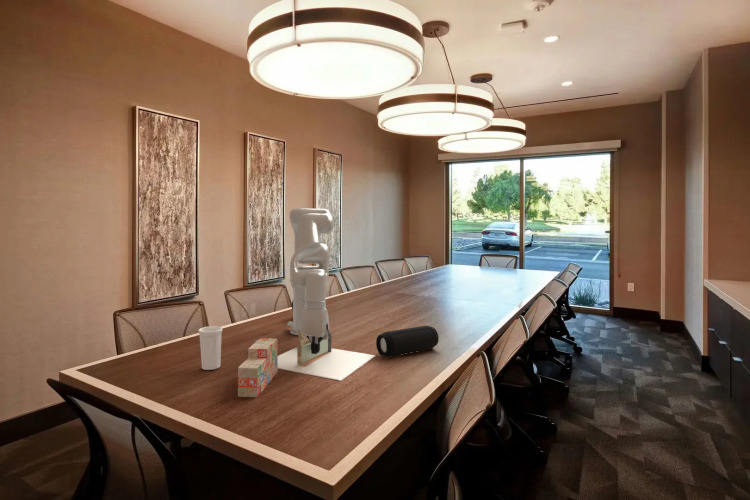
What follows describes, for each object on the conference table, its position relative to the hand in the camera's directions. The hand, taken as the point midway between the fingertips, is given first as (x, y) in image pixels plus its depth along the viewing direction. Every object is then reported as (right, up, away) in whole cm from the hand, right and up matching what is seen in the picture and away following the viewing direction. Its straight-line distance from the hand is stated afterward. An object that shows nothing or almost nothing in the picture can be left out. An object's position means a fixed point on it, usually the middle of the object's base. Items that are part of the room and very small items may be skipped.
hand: (315, 352), depth 155 cm
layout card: (+1, -4, +3) cm, 5 cm away
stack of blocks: (-16, -5, -20) cm, 26 cm away
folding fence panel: (-1, -3, +4) cm, 5 cm away
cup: (-37, -4, -6) cm, 38 cm away
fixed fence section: (-3, -2, +15) cm, 16 cm away
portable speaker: (+36, -4, +13) cm, 38 cm away
